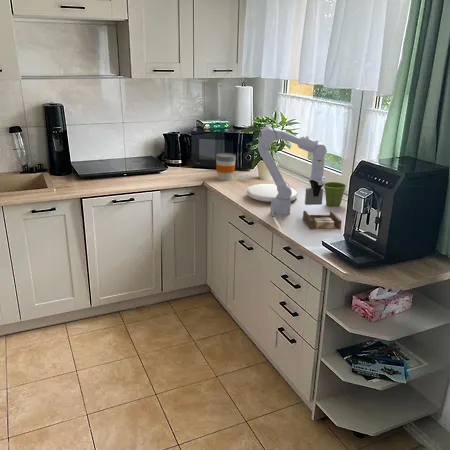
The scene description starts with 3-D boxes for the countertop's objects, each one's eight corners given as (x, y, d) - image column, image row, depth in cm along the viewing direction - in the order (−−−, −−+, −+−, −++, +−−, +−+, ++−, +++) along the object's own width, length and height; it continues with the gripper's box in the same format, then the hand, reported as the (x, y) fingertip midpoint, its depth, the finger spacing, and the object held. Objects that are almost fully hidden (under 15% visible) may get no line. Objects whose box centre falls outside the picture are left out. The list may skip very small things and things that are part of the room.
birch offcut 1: (314, 226, 214) (315, 220, 213) (313, 224, 216) (313, 218, 214) (331, 225, 214) (332, 219, 213) (330, 224, 216) (330, 218, 215)
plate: (283, 181, 271) (307, 194, 248) (281, 192, 273) (305, 206, 250) (240, 180, 260) (261, 193, 237) (238, 191, 262) (259, 206, 239)
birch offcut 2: (316, 228, 211) (316, 222, 210) (315, 226, 213) (315, 220, 212) (333, 228, 212) (334, 222, 211) (332, 226, 213) (332, 220, 212)
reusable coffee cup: (212, 180, 287) (212, 156, 282) (218, 175, 299) (219, 152, 293) (232, 182, 284) (232, 157, 279) (237, 177, 295) (238, 153, 290)
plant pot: (327, 200, 254) (330, 180, 250) (348, 205, 247) (350, 184, 243) (317, 205, 245) (319, 184, 241) (337, 210, 238) (340, 189, 234)
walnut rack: (310, 231, 210) (311, 221, 208) (302, 220, 223) (303, 210, 221) (340, 231, 211) (341, 220, 210) (331, 220, 224) (332, 210, 223)
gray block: (305, 204, 227) (306, 189, 224) (304, 203, 229) (305, 188, 226) (321, 204, 227) (323, 188, 224) (320, 203, 229) (322, 187, 226)
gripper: (330, 172, 215) (327, 200, 220) (321, 164, 229) (319, 191, 233) (315, 172, 215) (312, 200, 219) (307, 164, 228) (305, 191, 233)
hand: (315, 195), depth 226 cm, fingers closed on gray block, 2 cm apart
